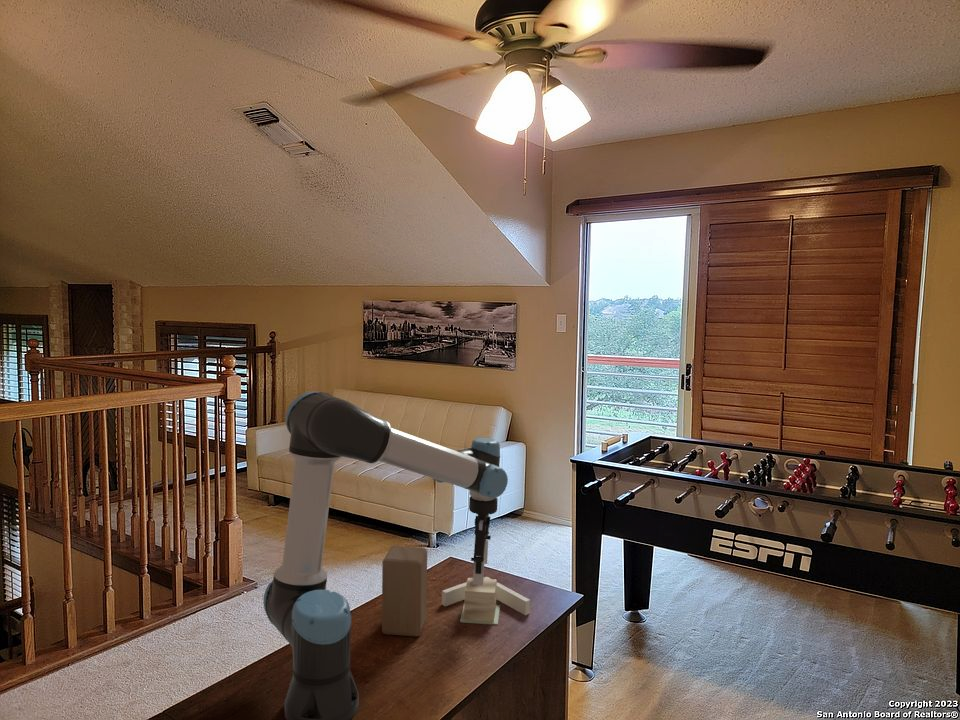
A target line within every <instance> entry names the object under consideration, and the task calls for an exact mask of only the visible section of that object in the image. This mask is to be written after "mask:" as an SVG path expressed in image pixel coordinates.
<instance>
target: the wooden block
mask: <svg viewBox="0 0 960 720" xmlns="http://www.w3.org/2000/svg"><path fill="white" fill-rule="evenodd" d="M381 566H382V571H381V572H382V576H381V577H382V578H381V579H382V581H381V631H382V634H384V635H390V636H391V635H392V636H403V637H405V636H406V637H419V636H420V634H421V632H422V630H423V627H424V625H425V622H426V619H427V593H428V590H427V589H428V586H427V584H428V550H427V548H424V547H412V546H409V547H408V546H395V545H394V546H391V547H390V548H389V550H388V552H387V553H386V554H385V556H384V557H383V560H382V564H381Z"/></svg>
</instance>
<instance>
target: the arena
mask: <svg viewBox="0 0 960 720" xmlns="http://www.w3.org/2000/svg"><path fill="white" fill-rule="evenodd" d="M484 579H491V577H489V576H484ZM466 584H467V581H465V582H464V583H460V584H457V585H454V586H451V587H449V588H446V589H443V590H442V591H441V605H442V606H444V607H448V606H450V605H453V604H456V603H458V602H462V601H463V600H464V601H465V588H466ZM496 601H499V602H501V603H502V604H504V605H506V606H508V607H510V608H512V609H513V610H515V612H518V613H520V614H522V615H524V616H526V617H527V615H530V614H531V613H530V610H531V599H530V598H528V597H526V596H524V595H522V594H520V593H518V592H516V591H514V590H512V589H511V588H509V587H507V586H505V585H503V584H502V583H499V582H497V589H496ZM500 607H501V605H498V604H496V611H495V618H494V622H493V621H478V620H464V605H463V607H462V612H461V615H460V620H459V623H466V624H477V625H478V624H481V625H494V626H495V625H496V626H498V625H499V617H500Z"/></svg>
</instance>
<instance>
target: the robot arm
mask: <svg viewBox="0 0 960 720" xmlns="http://www.w3.org/2000/svg"><path fill="white" fill-rule="evenodd" d="M285 427H286V429H287V431H288V433H289V434H290V440H289V447H288V453H289V454H290V455H291V456H292V458H293V459H294V466H293V474H292V475H293V476H292V481H291V482H292V483H291V489H290V490H291V491H290V497H289V498H290V499H289V507H288V514H287V515H288V516H287V524H286V531H285V539H284V547H283V557H282V564H281V565H280V566H279V567H277V568H276V569H275V570H274V573H273V578H272V581H271V582H269V583H268V585H267V586H266V588H265V590H264V594H263V602H262V603H263V608H264V612H265V613H266V616H267V619H268V620H269V622H270V623H271V625H273V626H274V627H275V628H276V630H277V631H278V632H279V633H280V634H281V635H282V636H283V638H284V639H285V641H286V642H288V644H289V645H290V646H291V649H292V678H291V681H290V684H289V687H288V690H287V693H286V695H285V696H286V697H285V699H284V717H285V719H286V720H351V719H352V718H353V717H354V716H355V715H356V713H357V711H358V709H359V704H360V703H359V702H360V701H359V690H358V688H357V685H356V682H355V679H354V676H353V673H352V671H351V670H352V669H351V639H352V638H351V631H352V630H351V629H352V628H351V627H352V615H351V607H350V604H349V601H348V600H347V599H346V597H344V596H343V595H342V594H341V593H339V592H336V591H335V590H334V591H330V590H329V589H327V583H328V582H327V581H328V572H327V571H326V570H325V568H323V558H324V550H325V541H326V540H325V539H326V536H327V535H326V534H327V526H328V518H329V511H330V509H329V508H330V503H331V492H332V485H333V477H334V471H335V465H336V464H335V463H336V462H337V461H339V460H340V459H341V458H343V457H344V458H348V459H353V460H357V461H360V462H364V463H367V464H371V465H372V464H376V463H378V462H380V463H381V462H382V463H384V464H387V465H391V466H393V467H397V468H399V469H403V470H407V471H410V472H413V473H415V474H419V475H423V476H426V477H428V478H431V479H433V480H434V481H435V482H437V483H445V484H446V483H447V484H450V485H454V486H456V487H460V488H462V489H465V490H469V496H470V497H469V503H468V504H469V505H468V509H469V511H470V512H471V513H473V514H476V515H475V519H474V535H475V536H474V537H475V538H474V547H473V549H474V550H473V557H471V558H470V561H471V562H473V571H472V578H473V585H483V579H484V577H485V576H484V575H485V573H484V572H485V565H487V564H488V554H489V553H488V552H489V550H488V549H489V541H490V540H491V539H492V538H491V537H492V536H491V535H489V534H490V531H489V528H490V525H491V524H490V523H491V516H490V515H493V514H496V512H498V497H500V496H502V495H503V494H504V492H505V491H506V489H507V486H508V482H509V481H508V480H509V479H508V475H507V472H506V471H505V470H504V469H503V468H502V467H500V460H501V445H500V442H499V441H498V440H497V439H494V438H491V437H478V438H474V439H472V441H471V445H470V448H465V449H456V450H454V449H452V448H448V447H445V446H443V445H440V444H437V443H435V442H432V441H429V440H427V439H424V438H421V437H419V436H415V435H414V434H413V435H412V434H410V433H407V432H404V431H402V430H398V429H396V428H393V427H391V424H390V423H389V422H388V421H387V420H385V419H382V418H380V417H377V416H376V415H374V414H371V413H369V412H368V411H366V410H364V409H363V408H361V407H358V406H357V405H356V404H353V403H352V402H351V401H350V402H349V400H345V399H342V398H338V397H336V396H333V395H332V394H330V393H328V392H322V391H316V390H315V391H307V392H304V393H302V394H300V395H298V396H297V397H296V398H294V400H292V402H290V404H289V406H288V407H287V410H286V413H285Z"/></svg>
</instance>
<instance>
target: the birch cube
mask: <svg viewBox="0 0 960 720" xmlns="http://www.w3.org/2000/svg"><path fill="white" fill-rule="evenodd" d="M497 581H498V580H497V579H495V578H490V579H483V585H473V577H467V580H466V582H467V584H466V588H465V599H464V603H463V606H464V620H478V621H493V622H494V618H495V611H496V605H497V599H496V589H497Z"/></svg>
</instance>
